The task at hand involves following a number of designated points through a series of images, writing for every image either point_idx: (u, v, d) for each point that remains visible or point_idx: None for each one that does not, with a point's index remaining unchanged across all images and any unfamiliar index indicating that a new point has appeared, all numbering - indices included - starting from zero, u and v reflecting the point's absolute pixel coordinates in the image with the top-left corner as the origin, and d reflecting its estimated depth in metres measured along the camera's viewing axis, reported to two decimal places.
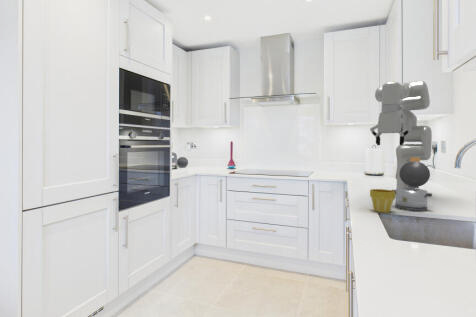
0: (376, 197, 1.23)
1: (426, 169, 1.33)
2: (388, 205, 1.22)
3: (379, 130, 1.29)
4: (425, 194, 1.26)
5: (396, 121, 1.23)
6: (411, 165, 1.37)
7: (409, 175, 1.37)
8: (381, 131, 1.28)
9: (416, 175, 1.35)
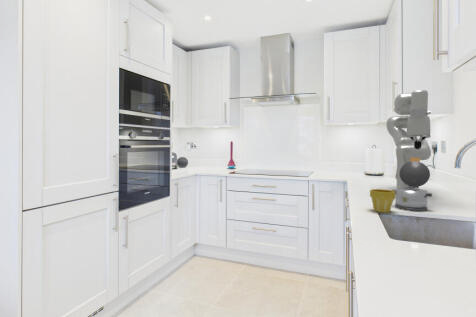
0: (376, 197, 1.23)
1: (426, 169, 1.33)
2: (388, 205, 1.22)
3: (408, 133, 1.43)
4: (425, 194, 1.26)
5: (424, 125, 1.37)
6: (411, 165, 1.37)
7: (409, 175, 1.37)
8: (410, 134, 1.42)
9: (416, 175, 1.35)
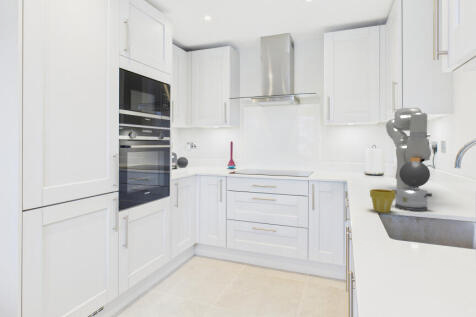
0: (376, 197, 1.23)
1: (426, 169, 1.33)
2: (388, 205, 1.22)
3: (407, 155, 1.43)
4: (425, 194, 1.26)
5: (424, 148, 1.38)
6: (411, 165, 1.37)
7: (409, 175, 1.37)
8: (409, 156, 1.43)
9: (416, 175, 1.35)
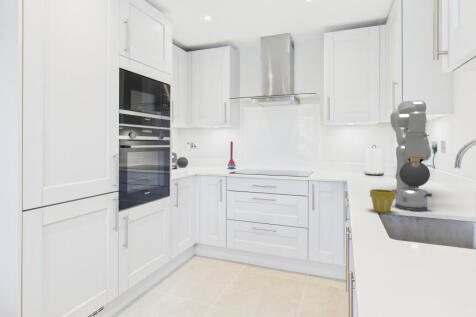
0: (376, 197, 1.23)
1: (426, 169, 1.33)
2: (388, 205, 1.22)
3: (406, 155, 1.39)
4: (425, 194, 1.26)
5: (422, 147, 1.34)
6: (411, 165, 1.37)
7: (409, 175, 1.37)
8: (408, 156, 1.39)
9: (416, 175, 1.35)
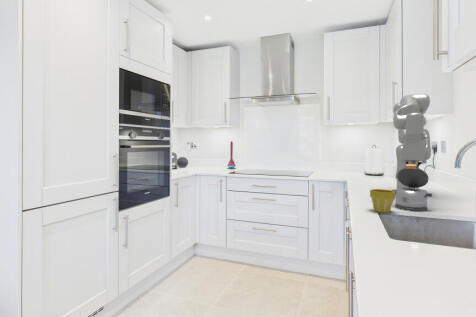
0: (376, 197, 1.23)
1: (423, 175, 1.28)
2: (388, 205, 1.22)
3: (403, 158, 1.34)
4: (425, 194, 1.26)
5: (420, 150, 1.29)
6: (408, 172, 1.31)
7: (407, 179, 1.34)
8: (405, 159, 1.34)
9: (414, 179, 1.32)
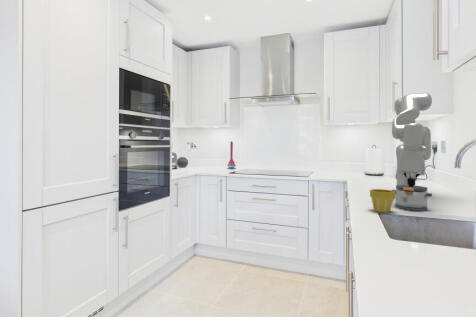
0: (376, 197, 1.23)
1: (422, 190, 1.26)
2: (388, 205, 1.22)
3: (401, 169, 1.31)
4: (425, 194, 1.26)
5: (418, 162, 1.26)
6: None
7: None
8: (403, 170, 1.31)
9: None
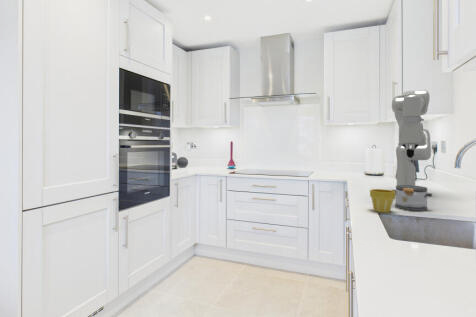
0: (376, 197, 1.23)
1: (422, 191, 1.26)
2: (388, 205, 1.22)
3: (400, 141, 1.35)
4: (425, 194, 1.26)
5: (417, 133, 1.30)
6: None
7: None
8: (402, 142, 1.34)
9: None
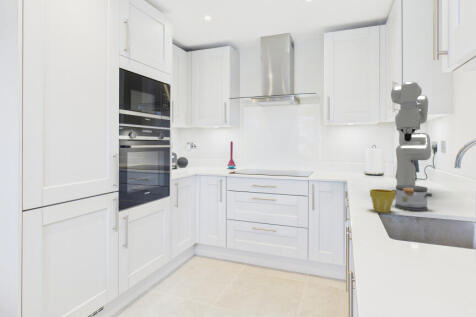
0: (376, 197, 1.23)
1: (422, 191, 1.26)
2: (388, 205, 1.22)
3: (398, 125, 1.43)
4: (425, 194, 1.26)
5: (414, 117, 1.37)
6: None
7: None
8: (400, 126, 1.42)
9: None
